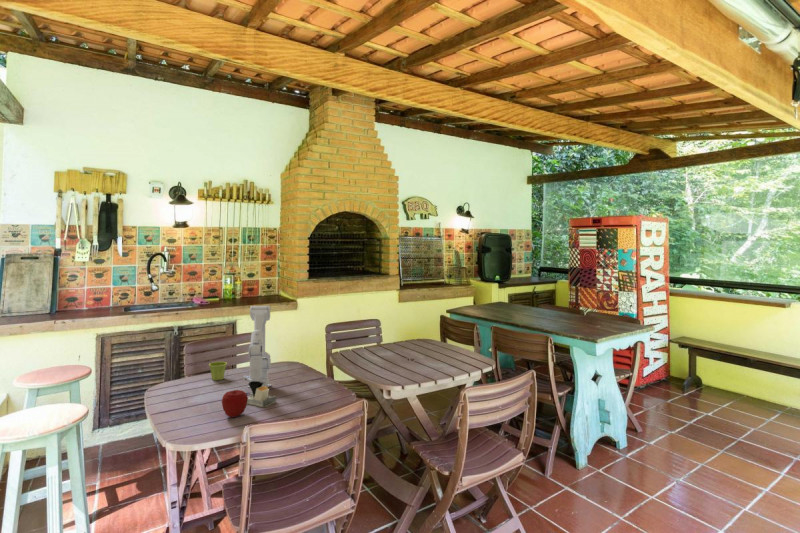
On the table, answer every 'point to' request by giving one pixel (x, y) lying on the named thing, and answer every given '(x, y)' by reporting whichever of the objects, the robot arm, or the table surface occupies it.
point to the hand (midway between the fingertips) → (256, 396)
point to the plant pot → (217, 370)
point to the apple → (234, 403)
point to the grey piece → (261, 403)
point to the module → (261, 393)
